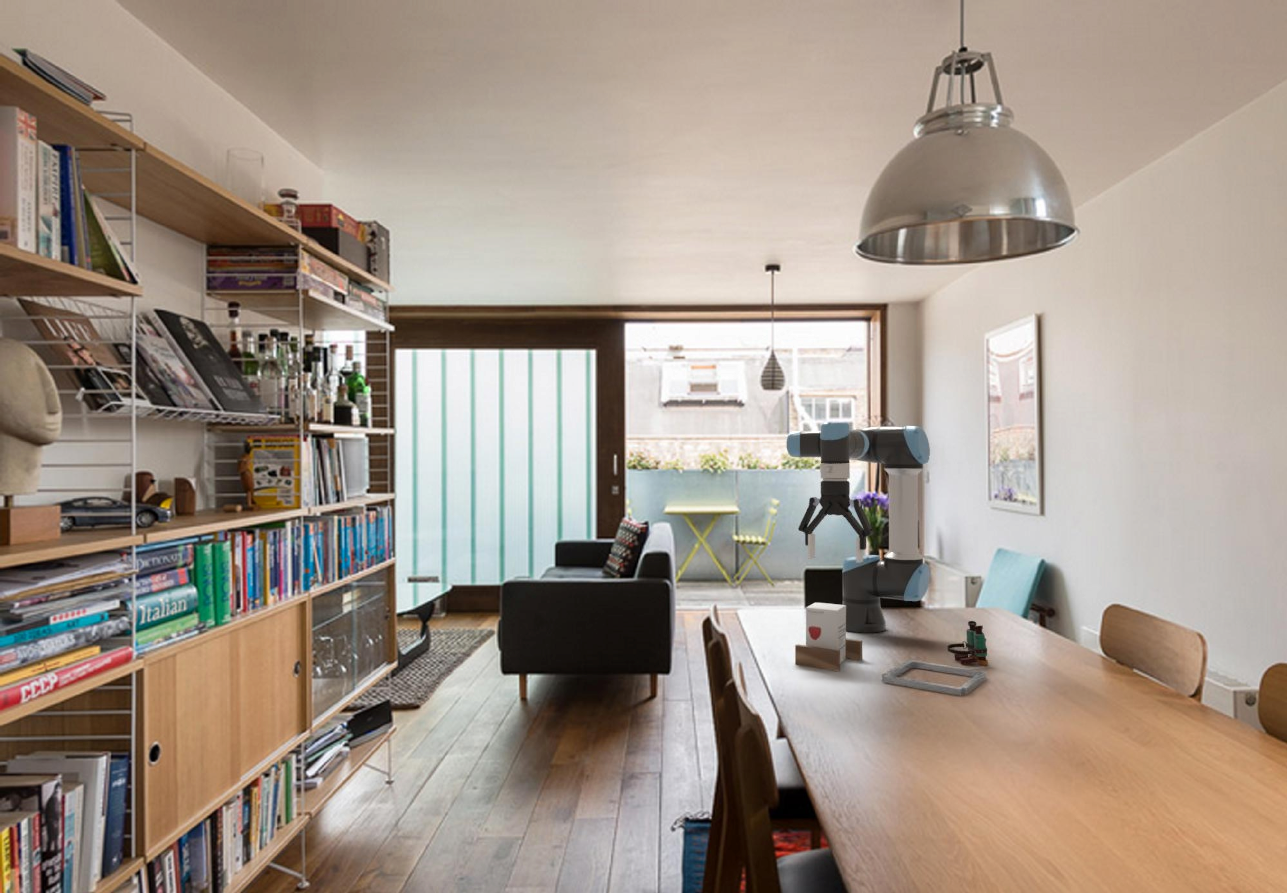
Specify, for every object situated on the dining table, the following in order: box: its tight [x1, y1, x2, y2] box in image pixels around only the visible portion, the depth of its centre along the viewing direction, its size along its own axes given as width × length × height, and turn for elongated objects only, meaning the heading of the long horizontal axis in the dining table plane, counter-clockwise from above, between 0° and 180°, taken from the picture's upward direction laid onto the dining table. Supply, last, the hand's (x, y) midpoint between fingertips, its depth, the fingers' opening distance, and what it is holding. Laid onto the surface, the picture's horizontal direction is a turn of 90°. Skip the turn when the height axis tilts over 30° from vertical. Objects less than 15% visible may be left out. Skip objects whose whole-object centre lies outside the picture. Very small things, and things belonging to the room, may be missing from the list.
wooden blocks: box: [794, 637, 863, 672], centre depth 224 cm, size 16×12×5 cm
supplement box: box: [805, 602, 847, 665], centre depth 224 cm, size 9×9×15 cm
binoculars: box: [946, 620, 989, 666], centre depth 223 cm, size 9×11×10 cm
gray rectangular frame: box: [881, 659, 987, 697], centre depth 206 cm, size 20×20×2 cm
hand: (835, 560), depth 220 cm, fingers open, 13 cm apart
